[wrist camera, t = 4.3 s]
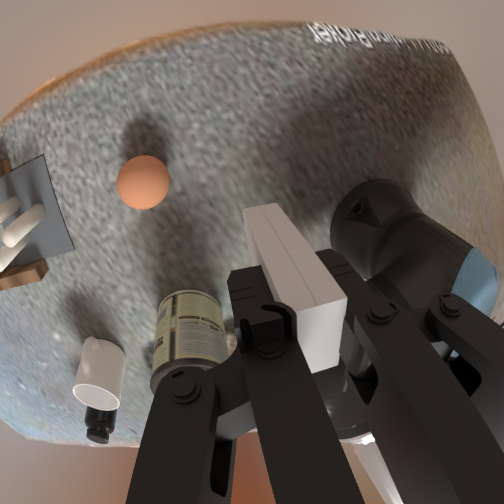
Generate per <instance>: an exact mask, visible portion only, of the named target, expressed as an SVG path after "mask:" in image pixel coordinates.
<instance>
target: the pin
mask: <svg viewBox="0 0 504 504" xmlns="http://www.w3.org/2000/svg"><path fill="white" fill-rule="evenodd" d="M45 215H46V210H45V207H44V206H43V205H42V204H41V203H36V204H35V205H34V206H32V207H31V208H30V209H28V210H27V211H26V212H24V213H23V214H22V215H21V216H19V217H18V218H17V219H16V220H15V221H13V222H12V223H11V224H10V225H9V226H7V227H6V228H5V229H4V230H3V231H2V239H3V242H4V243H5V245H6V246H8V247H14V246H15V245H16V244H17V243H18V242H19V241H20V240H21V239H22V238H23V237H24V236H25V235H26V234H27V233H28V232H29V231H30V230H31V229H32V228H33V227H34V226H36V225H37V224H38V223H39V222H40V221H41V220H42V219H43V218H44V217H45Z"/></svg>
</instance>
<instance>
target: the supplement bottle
mask: <svg viewBox="0 0 504 504" xmlns="http://www.w3.org/2000/svg"><path fill="white" fill-rule="evenodd" d="M116 413H117V409H115V410H109V411H107V410H99V409H95V408H92V407H90V406H88V405H87V410H86V415H85V424H86V426H87V427H88V429H87V438H88V439H90V440H91V441H94V442H96V443H100V444H107V443H108V440H109V434H111V433H112V432H113V431H114V428H115V420H116Z"/></svg>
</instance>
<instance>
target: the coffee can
mask: <svg viewBox="0 0 504 504" xmlns="http://www.w3.org/2000/svg"><path fill="white" fill-rule="evenodd" d="M222 315H223V314H222V309H221V306H220V304H219V303H218V301H217V300H216V299H215V298H214V297H212V296H211V295H209V294H207V293H205V292H202V291H199V290H193V289H189V290H179V291H176V292H173V293H171V294H169V295H168V296H166V297H165V298H164V299H163V300H162V302H161V303H160V305H159V308H158V318H157V326H156V336H155V345H154V357H153V369H152V377H151V381H150V388H151V391H152V393H153V394H154V395H155V392H156V389H157V386H158V384H159V383H160V381H161V379H162V378H163V377H164V376H165V375H166V374H167V373H168V372H170V371H172V370H174V369H176V368H178V367H183V366H195V367H200V368H202V369H204V370H205V371H206V370H208V369H211V368H213V367H215V366H217V365H219V364H221V363H222V362H224V361H225V360H227V359H228V358H229V353H228V347H227V341H226V335H225V329H224V323H223V316H222Z"/></svg>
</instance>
